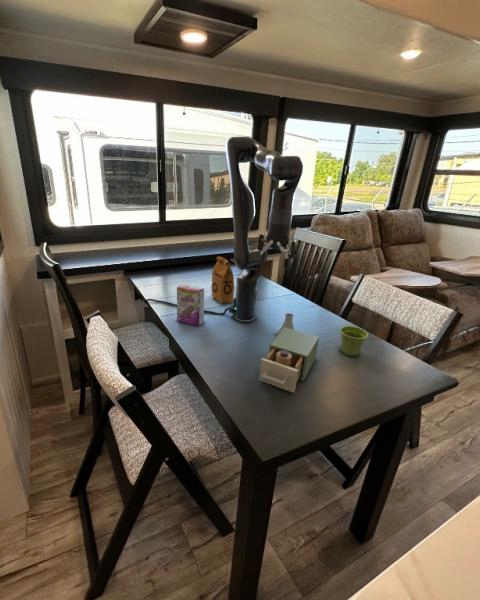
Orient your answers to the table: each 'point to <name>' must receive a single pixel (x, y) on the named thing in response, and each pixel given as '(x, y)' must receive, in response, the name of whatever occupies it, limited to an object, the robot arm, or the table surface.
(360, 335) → the plant pot
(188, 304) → the candy bar box
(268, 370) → the drawer
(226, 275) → the coffee package
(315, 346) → the cabinet
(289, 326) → the flask
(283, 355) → the pepper mill
